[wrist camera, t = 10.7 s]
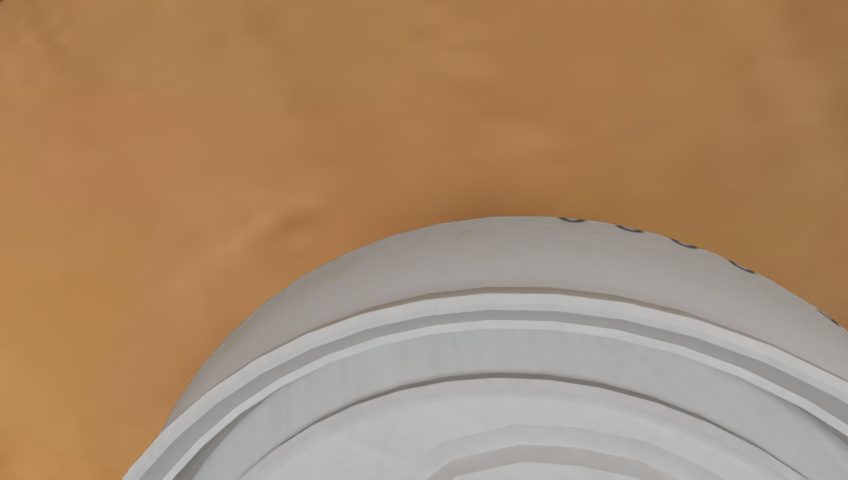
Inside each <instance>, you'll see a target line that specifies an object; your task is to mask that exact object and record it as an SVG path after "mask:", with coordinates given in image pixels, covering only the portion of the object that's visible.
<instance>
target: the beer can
mask: <svg viewBox="0 0 848 480" xmlns="http://www.w3.org/2000/svg"><path fill="white" fill-rule="evenodd" d="M122 480H848V331H847V330H846V329H844V328H843V327H842V326H840V325H839V324H838V323H837V322H835V321H834V320H833V319H831V318H830V317H829V316H827V315H826V314H825V313H823V312H822V311H821V310H819V309H818V308H816V307H815V306H813V305H811V304H810V303H808V302H806V301H805V300H803V299H801V298H800V297H798V296H796V295H795V294H793V293H791V292H790V291H788V290H786V289H785V288H783V287H781V286H780V285H778V284H776V283H775V282H773V281H771V280H770V279H768V278H766V277H764V276H762V275H760V274H758V273H756V272H753V271H751V270H749V269H747V268H745V267H743V266H740V265H738V264H736V263H734V262H732V261H730V260H727V259H725V258H723V257H721V256H719V255H717V254H714V253H712V252H709V251H707V250H704V249H701V248H698V247H695V246H692V245H689V244H686V243H683V242H680V241H677V240H674V239H671V238H668V237H665V236H662V235H659V234H656V233H651V232H646V231H642V230H637V229H632V228H628V227H623V226H618V225H614V224H609V223H605V222H600V221H590V220H580V219H570V218H560V217H550V216H509V217H486V218H478V219H470V220H463V221H455V222H447V223H440V224H436V225H432V226H428V227H424V228H420V229H416V230H412V231H408V232H404V233H400V234H396V235H392V236H389V237H387V238H384V239H381V240H379V241H376V242H374V243H371V244H368V245H366V246H363V247H360V248H358V249H355V250H353V251H350V252H347V253H345V254H343V255H341V256H339V257H338V258H336V259H334V260H332V261H330V262H328V263H326V264H324V265H322V266H320V267H319V268H317V269H315V270H313V271H311V272H309V273H307V274H305V275H304V276H302V277H301V278H299V279H298V280H296V281H295V282H293V283H292V284H291V285H289V286H288V287H286V288H285V289H283V290H282V291H280V292H279V293H278V294H276V295H275V296H273V297H272V298H270V299H269V300H267V301H266V302H265V303H264V304H263V305H262V306H260V307H259V308H258V309H257V310H256V311H255V312H254V313H253V314H251V315H250V316H249V317H248V318H247V319H246V320H245V321H243V322H242V323H241V324H240V325H239V326H238V327H237V328H236V329H234V330H233V331H232V332H231V333H230V335H229V336H228V337H227V338H226V339H225V340H224V341H223V342H222V344H221V345H220V346H219V347H218V348H217V349H216V350H215V351H214V353H213V354H212V355H211V356H210V357H209V358H208V359H207V360H206V362H205V363H204V364H203V365H202V366H201V368H200V369H199V371H198V372H197V374H196V375H195V376H194V378H193V379H192V381H191V382H190V384H189V385H188V387H187V388H186V389H185V391H184V392H183V394H182V395H181V397H180V398H179V400H178V401H177V403H176V404H175V406H174V408H173V410H172V412H171V414H170V416H169V418H168V419H167V421H166V423H165V425H164V427H163V429H162V431H161V433H160V435H159V436H158V437H157V438H156V440H155V441H154V442H153V443H152V444H151V445H150V446H149V447H148V448H147V450H146V451H145V452H144V453H143V454H142V455H141V456H140V457H139V459H138V460H137V461H136V462H135V463H134V464H133V465H132V467H131V468H130V469H129V470H128V472H127V473H126V475H125V476H124V478H123V479H122Z"/></svg>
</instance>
